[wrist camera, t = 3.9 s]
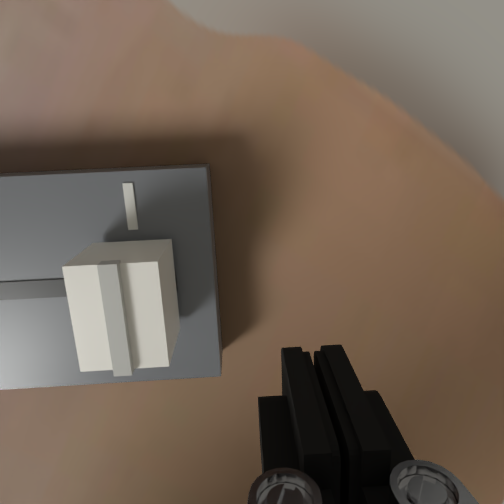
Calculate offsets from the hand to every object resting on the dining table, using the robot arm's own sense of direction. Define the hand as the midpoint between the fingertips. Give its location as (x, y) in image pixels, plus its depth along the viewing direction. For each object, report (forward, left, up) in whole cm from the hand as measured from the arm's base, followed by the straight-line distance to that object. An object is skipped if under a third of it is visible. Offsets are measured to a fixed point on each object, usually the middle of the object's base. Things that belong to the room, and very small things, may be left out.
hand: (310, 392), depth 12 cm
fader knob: (0, +7, -11) cm, 13 cm away
